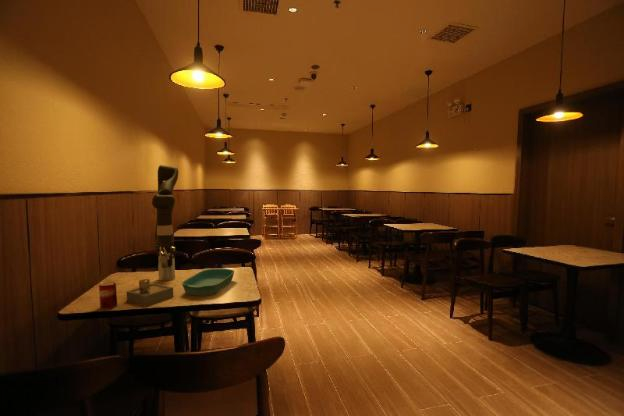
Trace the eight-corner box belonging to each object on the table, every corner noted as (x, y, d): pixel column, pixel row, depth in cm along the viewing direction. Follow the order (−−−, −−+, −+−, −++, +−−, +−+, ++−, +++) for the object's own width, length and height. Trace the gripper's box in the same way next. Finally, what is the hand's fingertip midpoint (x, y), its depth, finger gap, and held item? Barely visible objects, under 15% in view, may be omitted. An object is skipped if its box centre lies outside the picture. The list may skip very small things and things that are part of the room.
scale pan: (132, 294, 166) (132, 291, 166) (153, 287, 177) (153, 285, 177) (146, 298, 160) (146, 295, 160) (167, 291, 171) (167, 288, 171)
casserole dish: (214, 299, 167) (214, 286, 166) (175, 298, 170) (174, 285, 169) (239, 279, 203) (239, 268, 203) (206, 278, 206) (206, 267, 206)
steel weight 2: (159, 267, 164) (158, 256, 164) (167, 264, 169) (166, 253, 168) (166, 268, 162) (165, 256, 162) (173, 265, 167) (173, 254, 166)
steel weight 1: (137, 292, 165) (136, 281, 165) (146, 289, 169) (145, 278, 169) (143, 293, 162) (142, 282, 162) (152, 291, 167) (151, 279, 166)
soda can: (105, 304, 161) (103, 281, 161) (120, 303, 162) (118, 280, 161) (96, 310, 154) (95, 285, 153) (112, 309, 155) (111, 285, 154)
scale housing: (126, 301, 166) (126, 291, 166) (155, 291, 180) (154, 283, 179) (145, 306, 158) (144, 296, 158) (173, 296, 172) (173, 287, 171)
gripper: (149, 233, 164) (151, 265, 166) (167, 235, 157) (169, 269, 159) (162, 231, 171) (164, 262, 172) (180, 233, 164) (181, 265, 165)
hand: (166, 265), depth 166 cm, fingers closed on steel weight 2, 5 cm apart
